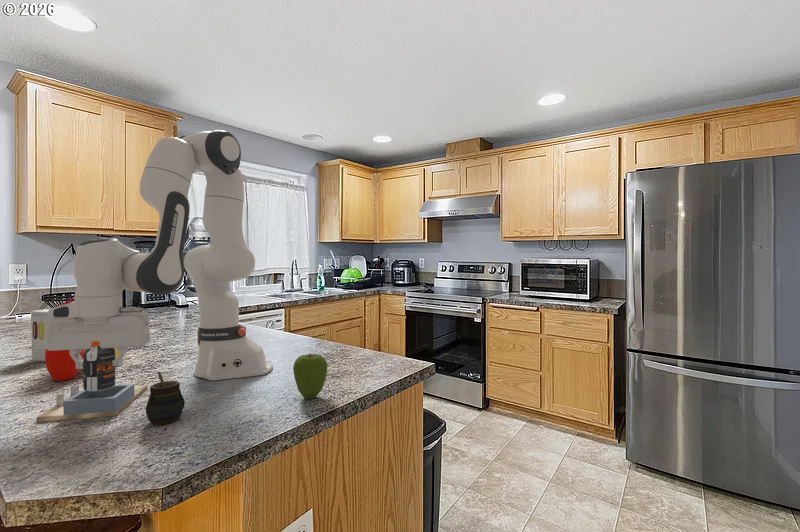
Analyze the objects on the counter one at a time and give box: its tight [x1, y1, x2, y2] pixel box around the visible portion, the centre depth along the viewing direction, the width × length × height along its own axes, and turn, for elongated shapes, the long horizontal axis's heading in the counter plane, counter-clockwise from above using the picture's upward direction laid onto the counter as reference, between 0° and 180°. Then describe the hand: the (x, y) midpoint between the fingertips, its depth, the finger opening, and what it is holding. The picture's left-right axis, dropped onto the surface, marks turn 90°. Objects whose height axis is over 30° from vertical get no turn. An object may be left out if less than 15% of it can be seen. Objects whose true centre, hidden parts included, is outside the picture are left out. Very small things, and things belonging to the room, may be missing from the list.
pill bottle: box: [82, 341, 116, 391], centre depth 93 cm, size 6×6×11 cm
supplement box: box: [30, 308, 53, 362], centre depth 139 cm, size 10×9×17 cm
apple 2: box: [292, 352, 329, 400], centre depth 101 cm, size 9×8×12 cm
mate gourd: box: [145, 371, 186, 426], centre depth 87 cm, size 7×8×10 cm
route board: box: [36, 385, 148, 423], centre depth 96 cm, size 15×18×1 cm
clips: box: [55, 384, 81, 407], centre depth 96 cm, size 5×8×2 cm, turn 13°
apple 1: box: [44, 349, 84, 382], centre depth 115 cm, size 9×9×11 cm
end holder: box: [63, 383, 135, 415], centre depth 93 cm, size 10×10×3 cm
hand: (99, 367), depth 93 cm, fingers closed on pill bottle, 6 cm apart
